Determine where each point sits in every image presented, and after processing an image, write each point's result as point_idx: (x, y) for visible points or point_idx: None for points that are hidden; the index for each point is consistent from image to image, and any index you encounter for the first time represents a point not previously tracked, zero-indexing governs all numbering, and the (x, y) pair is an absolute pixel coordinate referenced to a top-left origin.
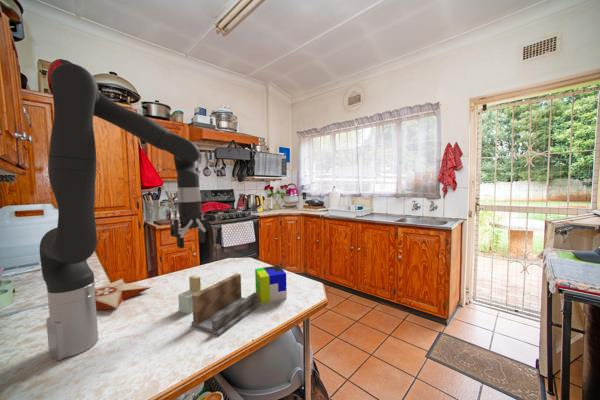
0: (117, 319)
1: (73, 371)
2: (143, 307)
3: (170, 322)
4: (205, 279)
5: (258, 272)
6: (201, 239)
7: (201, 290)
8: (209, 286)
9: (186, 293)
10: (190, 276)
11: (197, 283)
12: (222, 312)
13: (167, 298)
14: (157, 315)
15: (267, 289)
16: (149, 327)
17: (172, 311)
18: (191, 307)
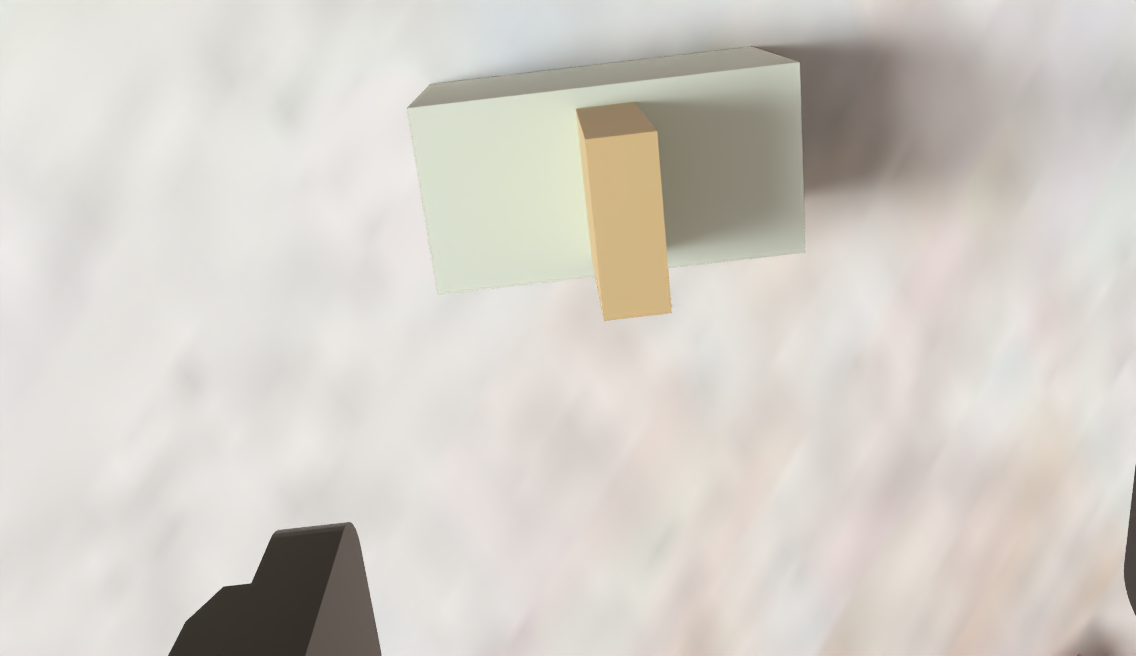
0: (1111, 521)
1: None
2: (885, 553)
3: (941, 58)
4: (141, 645)
5: None
6: (350, 647)
7: (569, 101)
8: (422, 123)
9: (733, 192)
10: (655, 303)
11: (638, 119)
12: None
13: (662, 547)
14: (916, 300)
15: None
16: (1083, 149)
17: None
18: (722, 56)
